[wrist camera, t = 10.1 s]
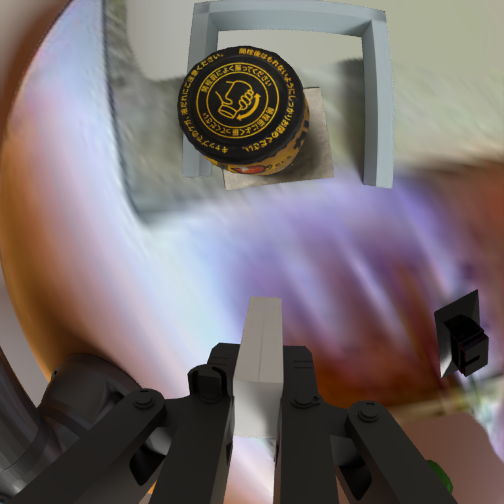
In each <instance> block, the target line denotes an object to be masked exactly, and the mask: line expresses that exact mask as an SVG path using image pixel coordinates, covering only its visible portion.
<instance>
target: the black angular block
mask: <svg viewBox="0 0 504 504" xmlns="http://www.w3.org/2000/svg"><path fill="white" fill-rule="evenodd" d="M434 316H435V323H436V330H437V337H438V346H439V355H440V366H441V378H444V377H446V376H448V375H450V374H451V373H453V372H455V371H457V370H459V371H460V372H461V374H464V376H465V377H467V376H468V375H470V374H472V373H474V372H475V371H477V370H479V369H480V368H482V367H484V366H485V365H487V364H488V345H489V337H488V336H487V335H486V334H485V333H484V330H483V329H482V328H481V327H480V317H479V298H478V290H477V289H476V290H475V291H473V292H471V293H469V294H467V295H466V296H464V297H462V298H460V299H458V300H457V301H455V302H453V303H451V304H449V305H447V306H445V307H443V308H441V309H439V310H437V311H435V312H434Z"/></svg>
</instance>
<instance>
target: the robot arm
mask: <svg viewBox="0 0 504 504" xmlns="http://www.w3.org/2000/svg"><path fill="white" fill-rule="evenodd" d="M188 383H189V391H190V395H189V396H186V397H183V398H177V399H164V397H163V395H162V394H161V393H160V392H158V391H156V390H153V389H149V388H143V389H141V388H140V387H139V386H138V385H137V384H136V383H135V382H134V381H133V380H132V379H131V378H130V377H129V376H127V375H126V374H125V373H124V372H122V371H121V370H120V369H118V368H117V367H115V366H114V365H112V364H110V363H108V362H107V361H105V360H103V359H100V358H98V357H95V356H92V355H88V354H82V353H76V354H71V355H69V356H67V357H66V358H65V359H64V360H63V361H62V362H61V363H60V364H58V365H57V367H56V368H55V369H54V371H53V373H52V377H51V381H50V382H49V384H48V386H47V388H46V391H45V393H44V395H43V398H42V401H41V403H40V405H39V406H38V407H37V408H36V407H35V405H34V404H33V402H32V401H31V399H30V398H29V396H28V395H27V393H26V391H25V390H24V388H23V387H22V385H21V383H20V382H19V380H18V378H17V377H16V375H15V373H14V371H13V370H12V368H11V366H10V364H9V362H8V360H7V358H6V356H5V355H4V353H3V351H2V349H1V347H0V504H138V503H139V502H140V501H141V500H142V498H143V497H144V496H145V494H146V493H147V492H148V491H149V489H150V488H151V487H152V485H153V484H154V483H155V482H156V480H157V482H156V485H155V487H154V490H153V493H152V495H151V498H150V501H149V503H148V504H223V501H224V496H225V490H226V484H227V478H228V473H229V467H230V461H231V455H232V449H233V433H234V436H242V437H256V438H277V442H276V449H275V456H274V462H275V473H274V496H273V504H339V499H338V490H337V483H336V476H337V478H338V480H339V482H340V485H341V487H342V489H343V491H344V493H345V495H346V497H347V499H348V501H349V503H350V504H458V503H457V502H456V500H455V499H454V498H453V496H452V495H451V494H450V492H449V491H448V490H447V488H446V487H445V486H444V484H443V483H442V481H441V480H440V479H439V477H438V476H437V475H436V473H435V472H434V471H433V469H432V468H431V467H430V465H429V464H428V463H427V461H426V460H425V459H424V458H423V456H422V455H421V454H420V452H419V451H418V450H417V448H416V447H415V446H414V444H413V443H412V442H411V440H410V439H409V438H408V437H407V435H406V434H405V432H404V431H403V430H402V428H401V427H400V426H399V425H398V423H397V422H396V421H395V419H394V418H393V417H392V415H391V414H390V413H389V411H388V410H387V409H386V408H385V407H384V406H383V405H382V404H379V403H377V402H375V401H368V400H366V401H359V402H356V403H354V404H353V405H352V406H351V407H350V408H349V409H344V408H339V407H335V406H332V405H330V404H328V403H326V402H325V401H324V400H323V398H322V396H321V395H319V393H318V388H317V382H316V376H315V370H314V365H313V359H312V353H311V352H310V351H309V350H308V349H307V348H306V346H283V340H282V308H281V298H275V297H254V296H251V297H250V302H249V307H248V311H247V316H246V321H245V326H244V330H243V335H242V340H241V344H231V343H218V344H217V345H216V346H215V347H214V348H212V351H211V353H210V356H209V359H208V362H207V364H203V365H199V366H196V367H194V368H193V369H191V370H190V371H189V373H188ZM335 474H336V475H335Z"/></svg>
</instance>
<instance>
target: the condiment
mask: <svg viewBox="0 0 504 504" xmlns="http://www.w3.org/2000/svg"><path fill="white" fill-rule="evenodd" d="M177 108H178V119H179V123H180V127H181V129H182V130H183V132H184V134H185V135H186V137H187V139H188V141H189V142H190V143H191V144H192V145H193V146H194V148H195V149H196V150H197V151H199V152H200V153H201V154H202V155H204V157H205V158H206V159H207V160H209V161H210V162H211V163H213V164H214V165H216V166H218V167H220V168H221V169H223V173H224V180H225V187H226V190H232V189H239V188H246V187H253V186H260V185H268V184H276V183H284V182H292V181H302V180H311V179H320V178H331V177H334V171H333V165H332V158H331V151H330V144H329V139H328V132H327V126H326V119H325V113H324V108H323V103H322V96H321V91H320V88H310V89H303V86H302V83H301V81H300V79H299V77H298V76H297V74H296V72H295V71H294V70H293V68H292V67H291V66H290V65H289V64H288V63H287V62H286V61H284V60H283V59H282V58H281V57H280V56H279V55H278V54H276V53H274V52H270V51H267V50H263V49H260V48H256V47H252V46H237V47H229V48H226V49H222V50H218V51H216V52H213V53H211V54H210V55H209V56H207V57H206V58H205V59H203V60H202V61H200V62H199V63H197V64H195V65H194V66H193V67H192V69H191V70H190V71H189V73H188V74H187V76H186V77H185V79H184V82H183V84H182V86H181V89H180V92H179V97H178V105H177ZM292 164H293V165H292Z"/></svg>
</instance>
